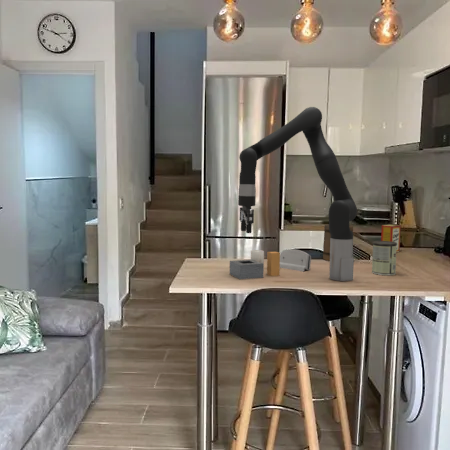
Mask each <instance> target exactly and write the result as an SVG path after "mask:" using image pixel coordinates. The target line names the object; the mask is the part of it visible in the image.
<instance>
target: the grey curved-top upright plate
mask: <svg viewBox="0 0 450 450" xmlns="http://www.w3.org/2000/svg"><path fill="white" fill-rule="evenodd" d="M311 262H312V256H311V254H309V253H307V252H306V251H304V250H300V249H295V248H293V249H292V248H290V249H284V250H282V251H281V252H280V269H284V270H285V269H286V270H292V271H296V272H297V271H299V272H305V271H311V264H312V263H311Z"/></svg>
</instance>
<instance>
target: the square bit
mask: <svg viewBox="0 0 450 450" xmlns="http://www.w3.org/2000/svg"><path fill="white" fill-rule="evenodd" d="M266 253H267V255H266V256H267V258H266V259H267V260H266V261H267V262H266V275H267V276H269V277H278V276H280V269H281V268H280V255H281V252H279V251H267V252H266Z"/></svg>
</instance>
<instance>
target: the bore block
mask: <svg viewBox="0 0 450 450" xmlns="http://www.w3.org/2000/svg"><path fill="white" fill-rule="evenodd" d="M264 268H265V263H264V264H263V263H261V262H258V261H255V260H251V259H238V260H229V275H230V274H231V275H230V276H232V275H233V276H232V277H234V278H235V279H239V280H246V279H249V280H250V279H261V278H264Z"/></svg>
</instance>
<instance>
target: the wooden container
mask: <svg viewBox="0 0 450 450" xmlns="http://www.w3.org/2000/svg"><path fill="white" fill-rule="evenodd" d="M349 227H350V230H351V231H352V232H353V233H354V225H352V224H349ZM323 229H324V230H323V231H324V232H323V244H322V245H323V246H322V247H323V249H322V259H323V260H324V261H327V262H330V240H331V234H330V231H329V223H327V224H324V228H323Z"/></svg>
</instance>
